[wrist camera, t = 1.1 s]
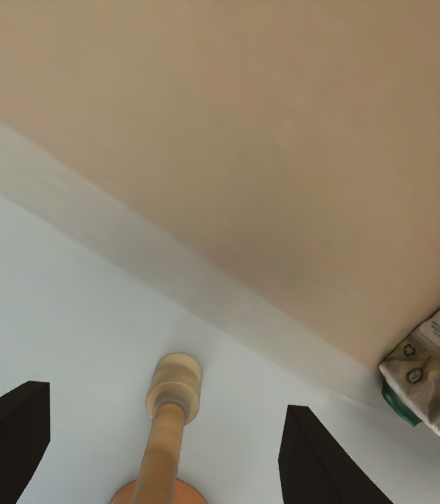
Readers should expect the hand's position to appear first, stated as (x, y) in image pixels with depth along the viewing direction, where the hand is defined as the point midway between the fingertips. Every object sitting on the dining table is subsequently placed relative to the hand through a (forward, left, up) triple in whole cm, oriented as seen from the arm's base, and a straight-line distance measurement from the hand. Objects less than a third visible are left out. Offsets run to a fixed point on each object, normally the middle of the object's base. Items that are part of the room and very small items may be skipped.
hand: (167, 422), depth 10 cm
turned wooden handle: (-4, -4, -10) cm, 12 cm away
